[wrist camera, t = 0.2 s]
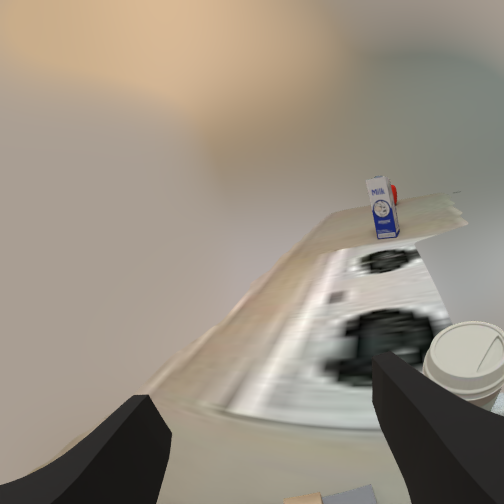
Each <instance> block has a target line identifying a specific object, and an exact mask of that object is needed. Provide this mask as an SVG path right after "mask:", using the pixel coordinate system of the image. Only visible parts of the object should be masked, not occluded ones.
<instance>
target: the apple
mask: <svg viewBox="0 0 504 504" xmlns="http://www.w3.org/2000/svg"><path fill="white" fill-rule="evenodd" d="M391 188H392V193H393V198H394V203H395V204H396V202H397V192H396V188H395V186H394V185H391Z"/></svg>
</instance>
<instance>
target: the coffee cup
mask: <svg viewBox="0 0 504 504" xmlns="http://www.w3.org/2000/svg"><path fill="white" fill-rule="evenodd" d="M423 375H425V376H426V377H428V378H429V379H431V380H432V381H434V382H435V383H437V384H439V385H440V386H442V387H443V388H445V389H447V390H448V391H450V392H452V393H453V394H455V395H457V396H459V397H460V398H462V399H464V400H466V401H468V402H470V403H472V404H474V405H476V406H478V407H481V408H483V409H485V410H488V411H491V409H492V407H493V405H494V403H495V401H496V399H497V396H498V394H499V392H500V390H501V388H502V386H503V385H504V331H503V330H501V329H500V328H498V327H497V326H495V325H492V324H490V323H485V322H480V321H469V322H462V323H458V324H454V325H452V326H449V327H447V328H446V329H444V330H442V331H441V332H440V333H439V334H438V335H437V336H436V337H435V338H434V339H433V341H432V343H431V346H430V349H429V350H428V352H427V354H426V356H425V361H424V364H423Z"/></svg>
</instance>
